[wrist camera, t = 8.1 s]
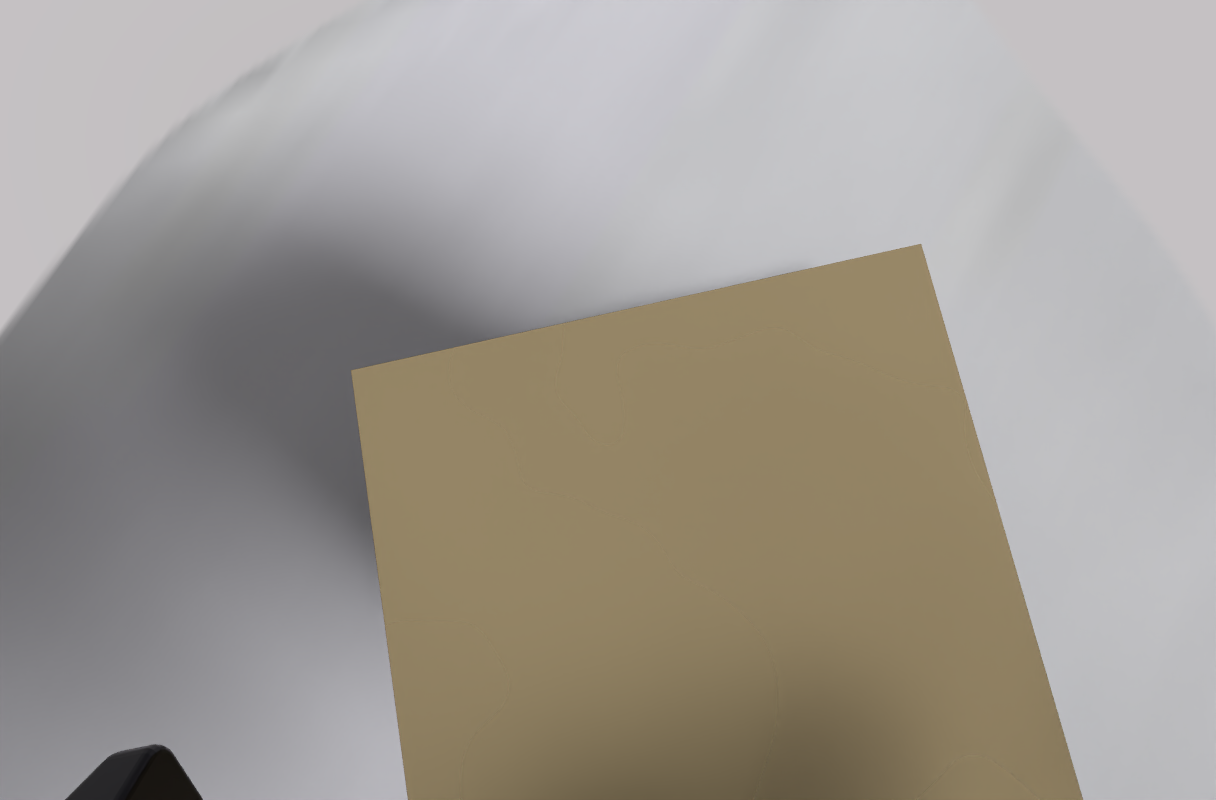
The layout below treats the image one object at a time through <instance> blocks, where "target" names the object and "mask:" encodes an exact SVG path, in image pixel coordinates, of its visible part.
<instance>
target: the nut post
mask: <svg viewBox="0 0 1216 800" xmlns="http://www.w3.org/2000/svg"><path fill="white" fill-rule="evenodd" d="M351 374H352V382H353V389H354V397H355V404H356V412H357V419H358V427H359V434H360V442H361V449H362V457H363V464H364V472H365V479H366V487H367V494H368V502H369V509H370V517H371V524H372V532H373V540H374V547H375V555H376V562H377V570H378V577H379V585H380V592H381V600H382V607H383V615H384V622H385V630H386V637H387V645H388V652H389V660H390V667H391V675H392V682H393V690H394V697H395V705H396V713H397V720H398V728H399V735H400V743H401V750H402V758H403V765H404V773H405V780H406V788H407V795H408V800H1083V798H1082V794H1081V791H1080V788H1079V784H1078V781H1077V777H1076V774H1075V770H1074V767H1073V764H1072V760H1071V757H1070V753H1069V750H1068V746H1067V743H1066V740H1065V736H1064V733H1063V729H1062V726H1061V722H1060V719H1059V716H1058V712H1057V709H1056V705H1055V702H1054V698H1053V695H1052V692H1051V688H1050V685H1049V681H1048V678H1047V674H1046V671H1045V668H1044V664H1043V661H1042V657H1041V654H1040V650H1039V647H1038V644H1037V640H1036V637H1035V633H1034V630H1033V626H1032V623H1031V619H1030V616H1029V613H1028V609H1027V606H1026V602H1025V599H1024V595H1023V592H1022V589H1021V585H1020V582H1019V578H1018V575H1017V571H1016V568H1015V565H1014V561H1013V558H1012V554H1011V551H1010V547H1009V544H1008V541H1007V537H1006V534H1005V530H1004V527H1003V523H1002V520H1001V517H1000V513H999V510H998V506H997V503H996V499H995V496H994V493H993V489H992V486H991V482H990V479H989V475H988V472H987V469H986V465H985V462H984V458H983V455H982V451H981V448H980V445H979V441H978V438H977V434H976V431H975V427H974V424H973V420H972V417H971V414H970V410H969V407H968V403H967V400H966V396H965V393H964V390H963V386H962V383H961V379H960V376H959V372H958V369H957V366H956V362H955V359H954V355H953V352H952V348H951V345H950V342H949V338H948V335H947V331H946V328H945V324H944V321H943V318H942V314H941V311H940V307H939V304H938V300H937V297H936V294H935V290H934V287H933V283H932V280H931V276H930V273H929V270H928V266H927V263H926V259H925V256H924V252H923V249H922V246H921V244H918V245H914V246H909V247H905V248H900V249H896V250H891V251H887V252H882V253H878V254H873V255H869V256H864V257H860V258H855V259H851V260H846V261H842V262H837V263H833V264H828V265H824V266H819V267H815V268H810V269H806V270H801V271H797V272H792V273H787V274H783V275H778V276H774V277H769V278H765V279H760V280H756V281H751V282H747V283H742V284H738V285H733V286H729V287H724V288H720V289H715V290H711V291H706V292H702V293H697V294H693V295H688V296H684V297H679V298H675V299H670V300H666V301H661V302H657V303H652V304H648V305H643V306H639V307H634V308H630V309H625V310H621V311H616V312H612V313H607V314H603V315H598V316H594V317H589V318H585V319H580V320H576V321H571V322H567V323H562V324H558V325H553V326H549V327H544V328H540V329H535V330H530V331H526V332H521V333H517V334H512V335H508V336H503V337H499V338H494V339H490V340H485V341H481V342H476V343H472V344H467V345H463V346H458V347H454V348H449V349H445V350H440V351H436V352H431V353H427V354H422V355H418V356H413V357H409V358H404V359H400V360H395V361H391V362H386V363H382V364H377V365H373V366H368V367H364V368H359V369H355V370H351Z"/></svg>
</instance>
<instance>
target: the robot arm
mask: <svg viewBox="0 0 1216 800" xmlns="http://www.w3.org/2000/svg"><path fill="white" fill-rule="evenodd" d="M65 800H203V799H202V797H201V796H200V794H199V792H198V791H197V789H196V788H195V786H194V785H193V783H192V782H191V780H190V779H189V777H188V776H187V774H186V772H185V771H184V769H183V768H182V766H181V765H180V763H179V762H178V760H177V759H176V757H175V756H174V754H173V753H172V752H171V750H170V749H168V748H166V747H165V746H163V745H156V744H154V745H149V746H144V747H139V748H134V749H129V750H124V751H120V752H117V753H114V754H112V755H111V756H109V757H108V758H107V759H106V760H105V761H104V762H102V763H101V764H100V765H99V766H98V767H97V768H96V769H95V770H94V771H93V772H92V773H91V774H90V775H89V776H88V777H87V778H86V779H85V780H84V781H83V782H82V783H81V784H80V785H79V786H78V787H77V788H76V789H75V790H74V791H73V792H72V793H71V794H70V795H69V796H68V797H67V798H66V799H65Z"/></svg>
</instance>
